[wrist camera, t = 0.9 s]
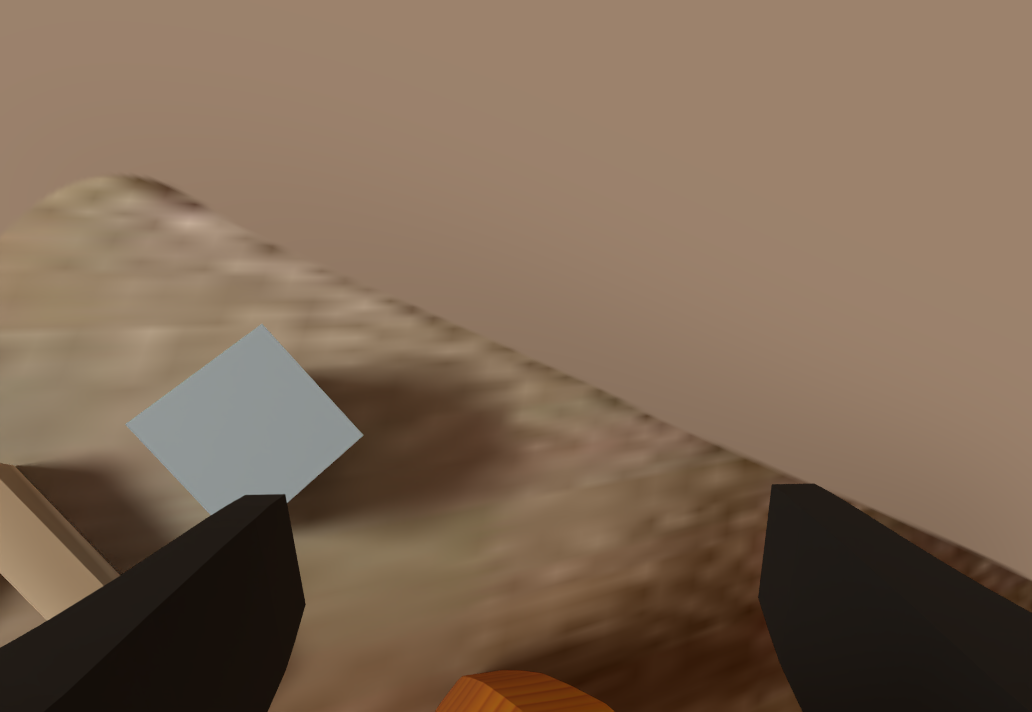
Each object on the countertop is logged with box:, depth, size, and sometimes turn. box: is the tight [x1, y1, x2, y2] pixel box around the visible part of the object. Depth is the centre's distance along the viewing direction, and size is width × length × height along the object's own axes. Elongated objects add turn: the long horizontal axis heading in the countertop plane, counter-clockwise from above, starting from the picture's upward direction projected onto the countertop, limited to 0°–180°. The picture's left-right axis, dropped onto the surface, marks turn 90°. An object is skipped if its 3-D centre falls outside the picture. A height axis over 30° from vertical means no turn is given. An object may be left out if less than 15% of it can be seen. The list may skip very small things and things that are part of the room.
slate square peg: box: [125, 324, 363, 515], centre depth 20 cm, size 4×4×7 cm
